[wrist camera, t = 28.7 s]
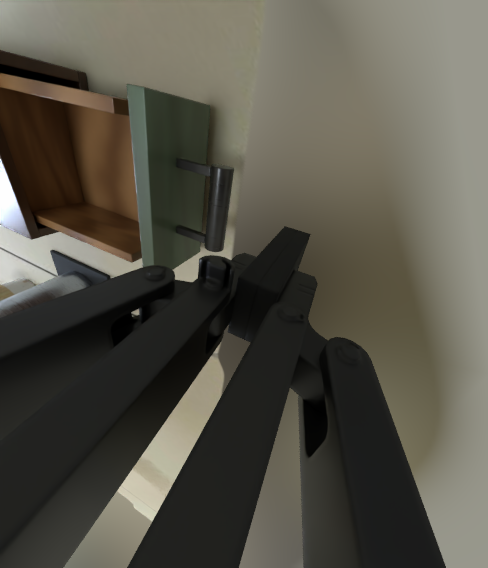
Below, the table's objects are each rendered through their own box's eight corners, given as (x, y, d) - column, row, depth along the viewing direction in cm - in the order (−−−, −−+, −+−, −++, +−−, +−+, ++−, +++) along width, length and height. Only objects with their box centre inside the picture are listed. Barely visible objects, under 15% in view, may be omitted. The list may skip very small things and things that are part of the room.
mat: (53, 249, 37) (49, 250, 37) (109, 275, 35) (106, 277, 34) (71, 305, 44) (69, 307, 44) (120, 331, 41) (117, 333, 41)
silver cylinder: (69, 260, 36) (-61, 311, 25) (109, 299, 37) (0, 365, 26) (63, 288, 41) (-47, 340, 30) (98, 322, 42) (3, 385, 31)
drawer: (262, 115, 16) (215, 100, 11) (236, 265, 23) (199, 301, 18) (63, 76, 21) (-38, 52, 16) (91, 210, 28) (27, 225, 23)
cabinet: (85, 72, 21) (-45, 37, 14) (109, 217, 29) (31, 239, 22) (-28, 51, 25) (-172, 16, 18) (20, 184, 33) (-69, 193, 26)
